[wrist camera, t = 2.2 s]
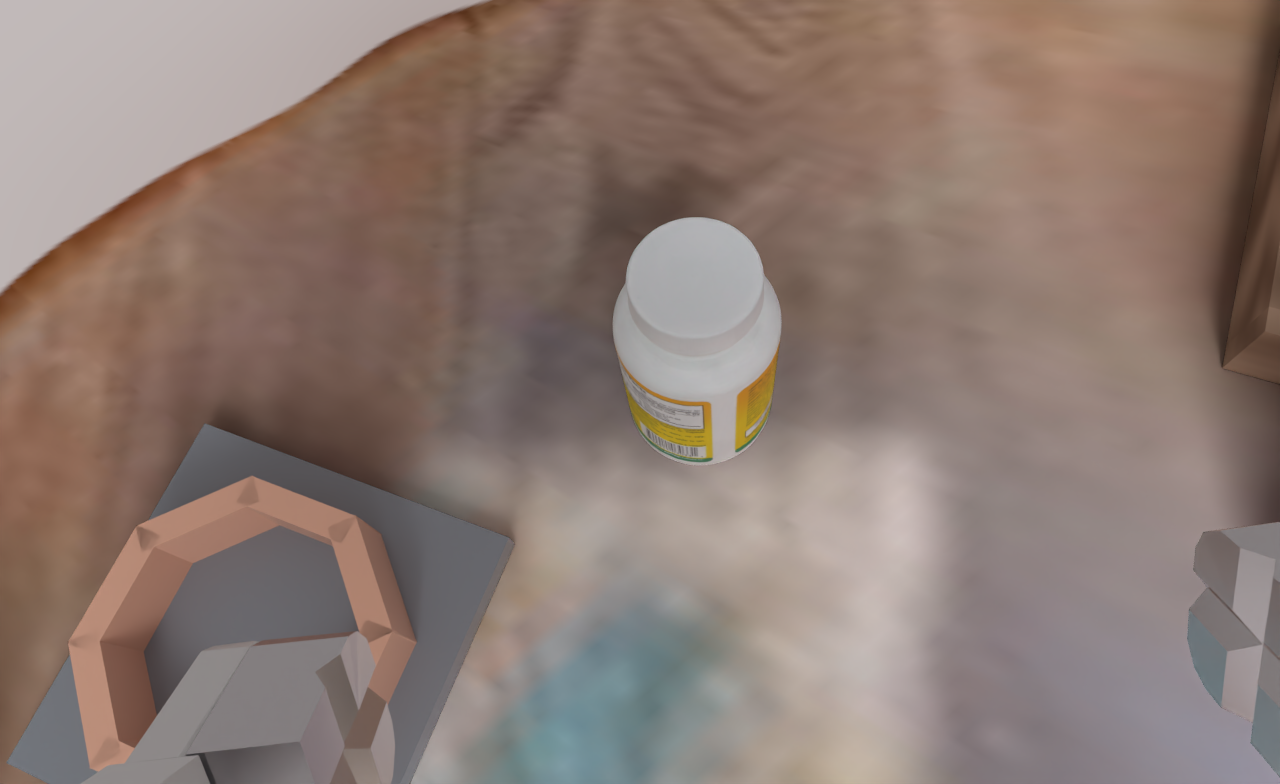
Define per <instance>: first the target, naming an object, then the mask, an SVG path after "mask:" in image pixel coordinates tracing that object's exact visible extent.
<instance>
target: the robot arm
mask: <svg viewBox="0 0 1280 784" xmlns="http://www.w3.org/2000/svg"><path fill="white" fill-rule="evenodd" d="M1193 571H1194V572H1195V573H1196V574H1197V576H1198V577H1199V578H1200V579H1201V580H1202V582H1203V583H1204V584H1205V585H1206V587H1207V589H1206V590H1205V591H1204V592H1203V593H1202V595H1201V596H1200V597H1199V598H1198V599H1197V600H1196V602H1195V603H1194V604H1193V605H1192V606H1191V608H1190V609H1189V617H1188V636H1187V640H1188V644H1189V648H1190V652H1191V656H1192V660H1193V664H1194V668H1195V670H1196V672H1197V673H1198V675H1199V677H1200V679H1201V681H1202V683H1203V685H1204V687H1205V689H1206V690H1207V691H1208V692H1209V694H1210V695H1211V696H1212V697H1213V698H1214V700H1215V701H1216V702H1217V703H1218V705H1219V706H1220V707H1221V708H1223V709H1225V710H1227V711H1229V712H1231V713H1233V714H1235V715H1237V716H1239V717H1241V718H1243V719H1245V720H1247V721H1249V722H1251V723H1253V726H1252V734H1251V742H1250V743H1251V744H1252V745H1253V746H1254V748H1255V749H1256V750H1257V751H1258V752H1259V753H1260V755H1261V756H1262V757H1263V758H1264V759H1265V761H1266V762H1267V763H1268V764H1269V765H1270V766H1271V768H1272V769H1273V770H1274V771H1275V772H1276V773H1277V775H1278V776H1279V777H1280V522H1273V523H1266V524H1259V525H1251V526H1244V527H1236V528H1229V529H1221V530H1214V531H1207V532H1203V533H1202V535H1201V537H1200V539H1199V541H1198V543H1197V545H1196V548H1195V556H1194V565H1193ZM375 667H376V665H375V662H374V659H373V656H372V653H371V650H370V647H369V644H368V641H367V638H365V637H364V636H363V635H362V634H360V633H359V632H358V631H352V632H342V633H332V634H322V635H311V636H301V637H291V638H281V639H270V640H262V641H260V642H257V641H249V642H242V643H234V644H226V645H218V646H213V647H210V648H208V649H206V650H203V651H201V652H200V654H199V655H198V656H197V658H196V659H195V661H194V662H193V664H192V665H191V667H190V668H189V670H188V671H187V672H186V674H185V675H184V677H183V678H182V680H181V681H180V683H179V684H178V686H177V687H176V689H175V690H174V692H173V693H172V694H171V696H170V697H169V699H168V700H167V702H166V703H165V705H164V706H163V708H162V709H161V711H160V712H159V714H158V715H157V716H156V718H155V719H154V721H153V722H152V724H151V725H150V727H149V728H148V730H147V731H146V733H145V734H144V736H143V737H142V738H141V740H140V741H139V743H138V744H137V746H136V747H135V749H134V750H133V752H132V753H131V755H130V756H129V758H128V759H127V760H126V762H125V763H122V764H114V765H108V766H106V767H105V768H103V769H102V770H100V771H99V772H97V773H96V774H94V775H93V776H91V777H90V778H88V779H87V780H85V781H84V782H82V783H81V784H391V781H392V778H393V770H394V756H395V740H394V732H393V724H392V719H391V716H390V712H389V709H388V705H387V702H386V701H385V700H384V699H382V698H381V697H380V696H379V695H377V694H376V693H375V692H374V691H372V690H371V689H370V688H369V687H368V685H369V682H370V680H371V677H372V674H373V672H374V669H375Z"/></svg>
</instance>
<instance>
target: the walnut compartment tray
mask: <svg viewBox="0 0 1280 784" xmlns="http://www.w3.org/2000/svg"><path fill="white" fill-rule="evenodd" d="M1222 368H1224V369H1227V370H1231V371H1234V372H1238V373H1241V374H1245V375H1249V376H1252V377H1256V378H1259V379H1263V380H1266V381H1270V382H1274V383H1277V384H1280V52H1279V57H1278V63H1277V68H1276V74H1275V80H1274V85H1273V91H1272V96H1271V102H1270V107H1269V113H1268V118H1267V124H1266V129H1265V135H1264V140H1263V146H1262V151H1261V157H1260V162H1259V168H1258V173H1257V179H1256V184H1255V190H1254V195H1253V201H1252V206H1251V212H1250V217H1249V223H1248V228H1247V234H1246V239H1245V245H1244V251H1243V256H1242V262H1241V267H1240V273H1239V278H1238V284H1237V289H1236V295H1235V300H1234V306H1233V311H1232V317H1231V322H1230V328H1229V333H1228V339H1227V344H1226V350H1225V355H1224V361H1223V366H1222Z"/></svg>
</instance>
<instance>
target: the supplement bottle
mask: <svg viewBox="0 0 1280 784" xmlns="http://www.w3.org/2000/svg"><path fill="white" fill-rule="evenodd" d="M781 327H782V321H781V310H780V305H779V301H778V298H777V296H776V293H775V291H774V289H773V287H772V285H771V284H770V282H769V281H768V279H767V278H766V276H765V275H764V271H763V265H762V262H761V259H760V256H759V254H758V252H757V250H756V248H755V247H754V245H753V244H752V242H751V241H750V240H749V239H748V238H747V237H746V236H745V235H744V234H743V233H741V232H740V231H739V230H737V229H736V228H735V227H733V226H731V225H729V224H727V223H724V222H722V221H719V220H715V219H710V218H704V217H689V218H682V219H677V220H674V221H671V222H668V223H666V224H663V225H661V226H660V227H658V228H656V229H655V230H653V231H652V232H650V233H649V234H648V235H647V236H646V237H645V238H644V239H643V240H642V241H641V242H640V243H639V244H638V246H637V247H636V248H635V250H634V252H633V254H632V256H631V258H630V260H629V263H628V266H627V272H626V283H625V285H624V286H623V288H622V290H621V292H620V294H619V296H618V298H617V301H616V304H615V309H614V314H613V337H614V343H615V348H616V352H617V356H618V360H619V364H620V368H621V373H622V377H623V381H624V385H625V389H626V393H627V397H628V402H629V407H630V410H631V414H632V417H633V420H634V423H635V425H636V427H637V429H638V431H639V432H640V434H641V435H642V437H643V438H644V440H645V441H646V442H647V443H648V444H649V445H650V446H651V447H652V448H653V449H655V450H656V451H657V452H659V453H660V454H662V455H663V456H665V457H667V458H669V459H671V460H674V461H676V462H679V463H683V464H688V465H711V464H717V463H721V462H724V461H727V460H729V459H731V458H733V457H735V456H737V455H739V454H741V453H742V452H744V451H745V450H746V449H747V448H748V447H750V446H751V444H752V443H753V442H754V441H755V440H756V439H757V437H758V436H759V434H760V433H761V431H762V430H763V428H764V426H765V424H766V422H767V420H768V417H769V413H770V409H771V404H772V396H773V389H774V381H775V373H776V366H777V359H778V352H779V345H780V337H781Z"/></svg>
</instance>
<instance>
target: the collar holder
mask: <svg viewBox="0 0 1280 784" xmlns="http://www.w3.org/2000/svg"><path fill="white" fill-rule="evenodd" d="M514 545H515V544H514V542H513V541H512V540H511V539H510V538H509V537H507V536H504V535H501V534H499V533H496V532H493V531H491V530H488V529H485V528H483V527H480V526H477V525H475V524H472V523H469V522H467V521H464V520H461V519H459V518H456V517H453V516H451V515H448V514H445V513H443V512H440V511H437V510H435V509H432V508H429V507H427V506H424V505H421V504H419V503H416V502H413V501H411V500H408V499H405V498H403V497H400V496H397V495H395V494H392V493H389V492H387V491H384V490H381V489H379V488H376V487H373V486H371V485H368V484H365V483H363V482H360V481H357V480H355V479H352V478H349V477H347V476H344V475H341V474H339V473H336V472H333V471H331V470H328V469H325V468H323V467H320V466H317V465H315V464H312V463H309V462H307V461H304V460H301V459H299V458H296V457H293V456H291V455H288V454H285V453H283V452H280V451H277V450H275V449H272V448H269V447H267V446H264V445H261V444H259V443H256V442H253V441H250V440H248V439H245V438H242V437H240V436H237V435H234V434H232V433H229V432H226V431H224V430H221V429H218V428H216V427H213V426H210V425H208V424H204V426H203V427H202V429H201V431H200V432H199V434H198V436H197V438H196V439H195V441H194V443H193V444H192V446H191V448H190V449H189V451H188V453H187V455H186V456H185V458H184V460H183V461H182V463H181V465H180V467H179V468H178V470H177V472H176V473H175V475H174V477H173V479H172V480H171V482H170V484H169V485H168V487H167V489H166V491H165V492H164V494H163V496H162V497H161V499H160V501H159V503H158V504H157V506H156V508H155V509H154V511H153V513H152V515H151V516H150V518H149V520H148V521H146V522H144V523H142V524H139V525H137V526H136V527H135V529H134V531H133V533H132V534H131V536H130V538H129V539H128V541H127V543H126V544H125V546H124V548H123V550H122V551H121V553H120V555H119V556H118V558H117V560H116V562H115V563H114V565H113V567H112V568H111V570H110V572H109V573H108V575H107V577H106V579H105V580H104V582H103V584H102V585H101V587H100V589H99V590H98V592H97V594H96V596H95V597H94V599H93V601H92V602H91V604H90V606H89V607H88V609H87V611H86V613H85V614H84V616H83V618H82V619H81V621H80V623H79V624H78V626H77V628H76V630H75V631H74V633H73V635H72V636H71V638H70V640H69V641H68V646H69V652H70V655H69V657H68V658H67V660H66V662H65V663H64V665H63V667H62V669H61V670H60V672H59V674H58V675H57V677H56V679H55V681H54V682H53V684H52V686H51V687H50V689H49V691H48V693H47V694H46V696H45V698H44V699H43V701H42V703H41V705H40V706H39V708H38V710H37V711H36V713H35V715H34V717H33V718H32V720H31V722H30V723H29V725H28V727H27V729H26V730H25V732H24V734H23V735H22V737H21V739H20V740H19V742H18V744H17V746H16V747H15V749H14V751H13V752H12V754H11V756H10V758H9V759H8V761H7V763H8V764H10V765H12V766H14V767H16V768H18V769H20V770H22V771H24V772H26V773H28V774H30V775H32V776H34V777H36V778H38V779H40V780H42V781H44V782H46V783H48V784H81V783H82V782H84V781H85V780H87V779H88V778H90V777H91V776H93V775H94V774H96V773H97V772H99V771H100V770H102V769H103V768H105V767H106V766H108V765H114V764H122V763H125V762H126V760H127V759H128V758H129V756H130V755H131V753H132V752H133V750H134V749H135V747H136V746H137V744H138V743H139V741H140V740H141V738H142V737H143V736H144V734H145V733H146V731H147V730H148V728H149V727H150V725H151V724H152V722H153V721H154V719H155V718H156V716H157V715H158V714H159V712H160V711H161V709H162V708H163V706H164V705H165V703H166V702H167V700H168V699H169V697H170V696H171V694H172V693H173V692H174V690H175V689H176V687H177V686H178V684H179V683H180V681H181V680H182V678H183V677H184V675H185V674H186V672H187V671H188V670H189V668H190V667H191V665H192V664H193V662H194V661H195V659H196V658H197V656H198V655H199V654H200V652H201V651H203V650H206V649H208V648H210V647H213V646H218V645H226V644H234V643H242V642H249V641H257V642H260V641H262V640H270V639H281V638H291V637H301V636H311V635H322V634H332V633H342V632H352V631H358V632H359V633H360V634H362V635H363V636H364V637H365V638H367V641H368V644H369V647H370V650H371V653H372V656H373V659H374V662H375V665H376V667H375V669H374V672H373V674H372V677H371V680H370V682H369V685H368V687H369V688H370V689H371V690H372V691H374V692H375V693H376V694H377V695H379V696H380V697H381V698H382V699H384V700H385V701H386V702H387V705H388V709H389V712H390V716H391V719H392V724H393V732H394V740H395V756H394V770H393V778H392V781H391V784H410V782H411V780H412V777H413V775H414V773H415V771H416V768H417V766H418V764H419V762H420V759H421V757H422V755H423V752H424V750H425V748H426V746H427V743H428V741H429V739H430V736H431V734H432V732H433V730H434V727H435V725H436V723H437V721H438V718H439V716H440V714H441V711H442V709H443V707H444V705H445V702H446V700H447V698H448V695H449V693H450V691H451V689H452V686H453V684H454V682H455V679H456V677H457V675H458V673H459V670H460V668H461V666H462V664H463V661H464V659H465V657H466V654H467V652H468V650H469V648H470V645H471V643H472V641H473V638H474V636H475V634H476V632H477V629H478V627H479V625H480V623H481V620H482V618H483V616H484V613H485V611H486V609H487V607H488V604H489V602H490V600H491V597H492V595H493V593H494V591H495V588H496V586H497V584H498V582H499V579H500V577H501V575H502V572H503V570H504V568H505V566H506V563H507V561H508V559H509V556H510V554H511V552H512V550H513V547H514Z"/></svg>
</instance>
